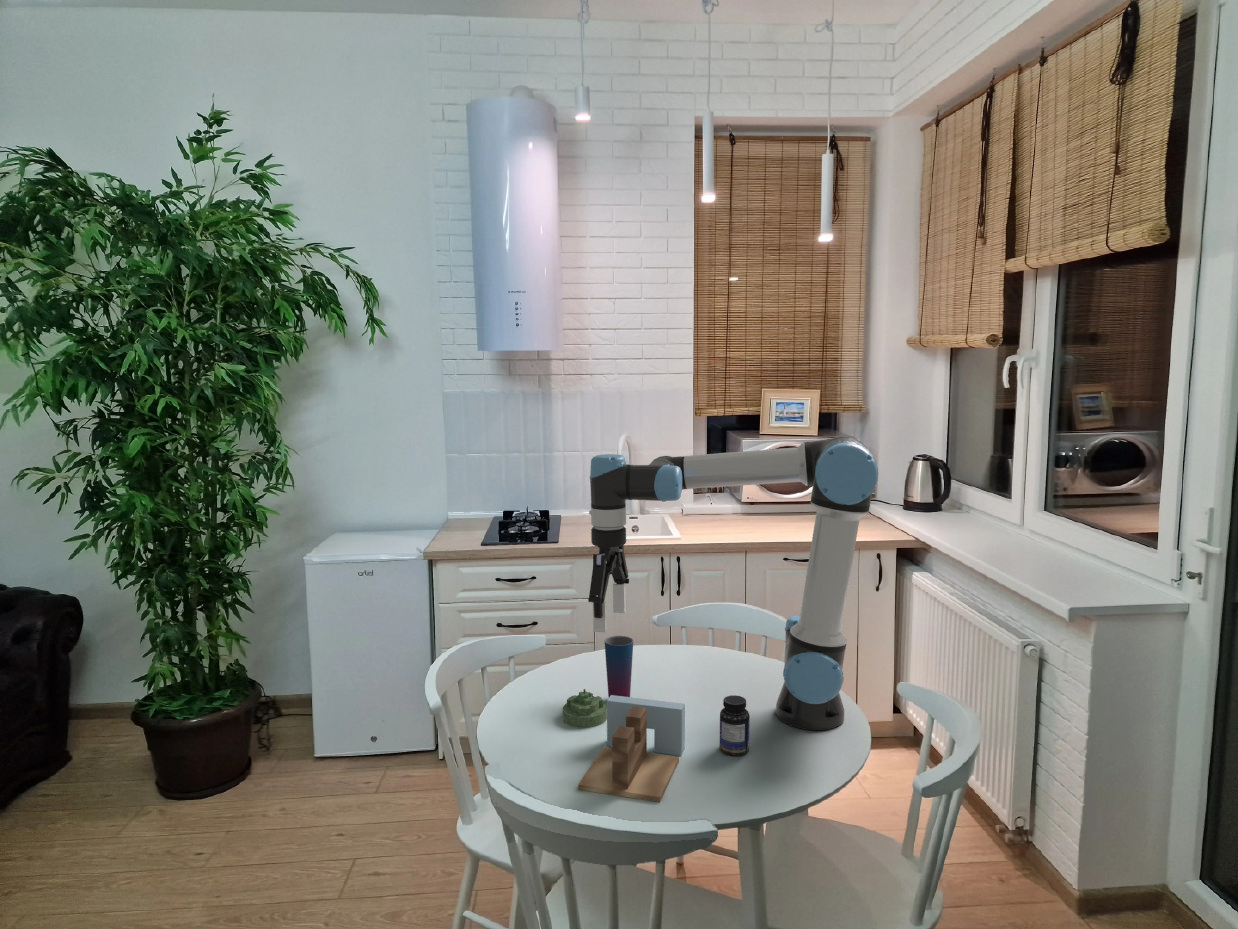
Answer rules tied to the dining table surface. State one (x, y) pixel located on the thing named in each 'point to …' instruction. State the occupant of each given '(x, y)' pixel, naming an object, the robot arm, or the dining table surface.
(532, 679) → the dining table surface
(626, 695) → the cup
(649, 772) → the jig
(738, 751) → the pill bottle
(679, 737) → the slotted plate
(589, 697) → the decorative artifact
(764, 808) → the dining table surface
